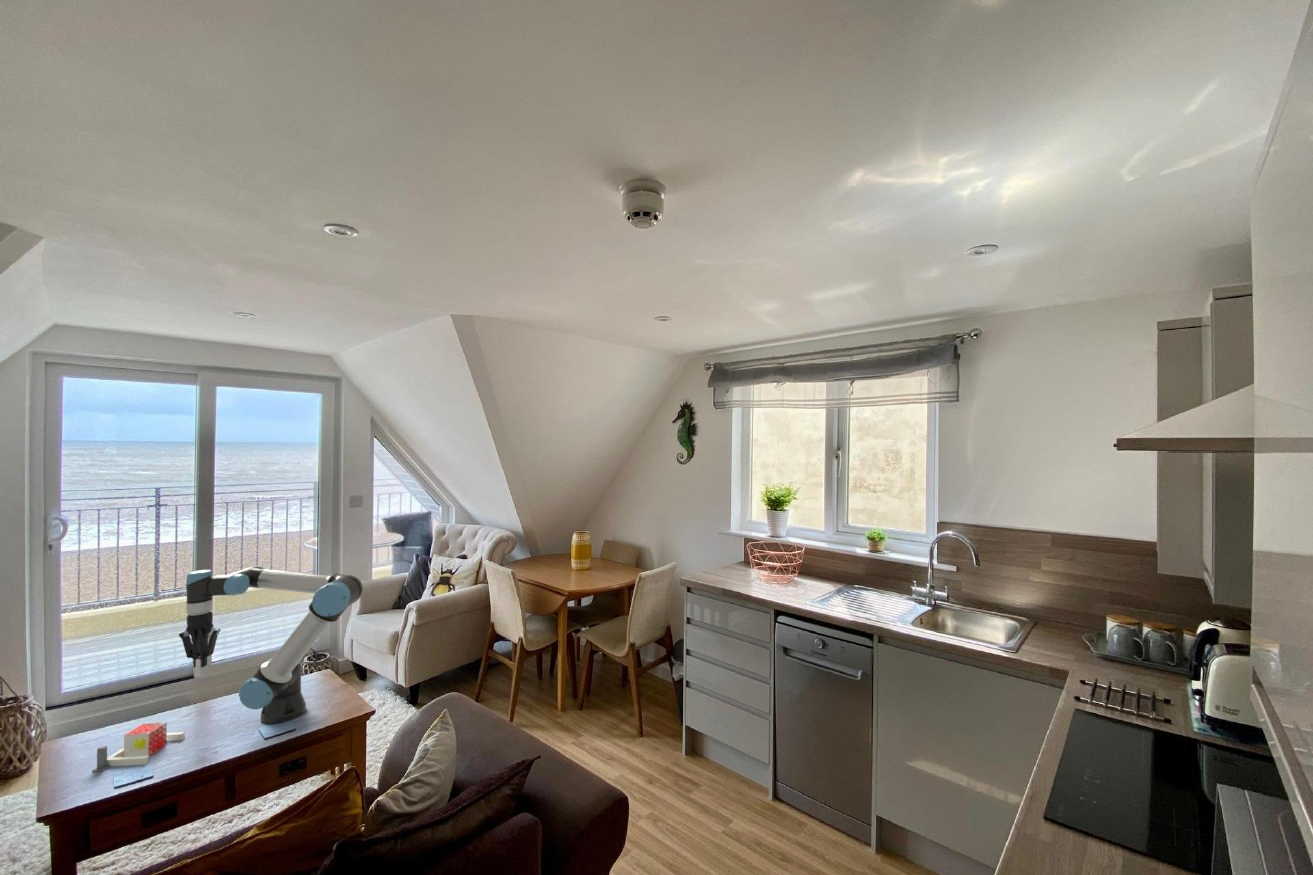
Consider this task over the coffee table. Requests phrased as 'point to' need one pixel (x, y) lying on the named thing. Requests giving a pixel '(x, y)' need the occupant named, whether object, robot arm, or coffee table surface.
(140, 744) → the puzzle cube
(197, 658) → the robot arm
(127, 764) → the keeper bracket
